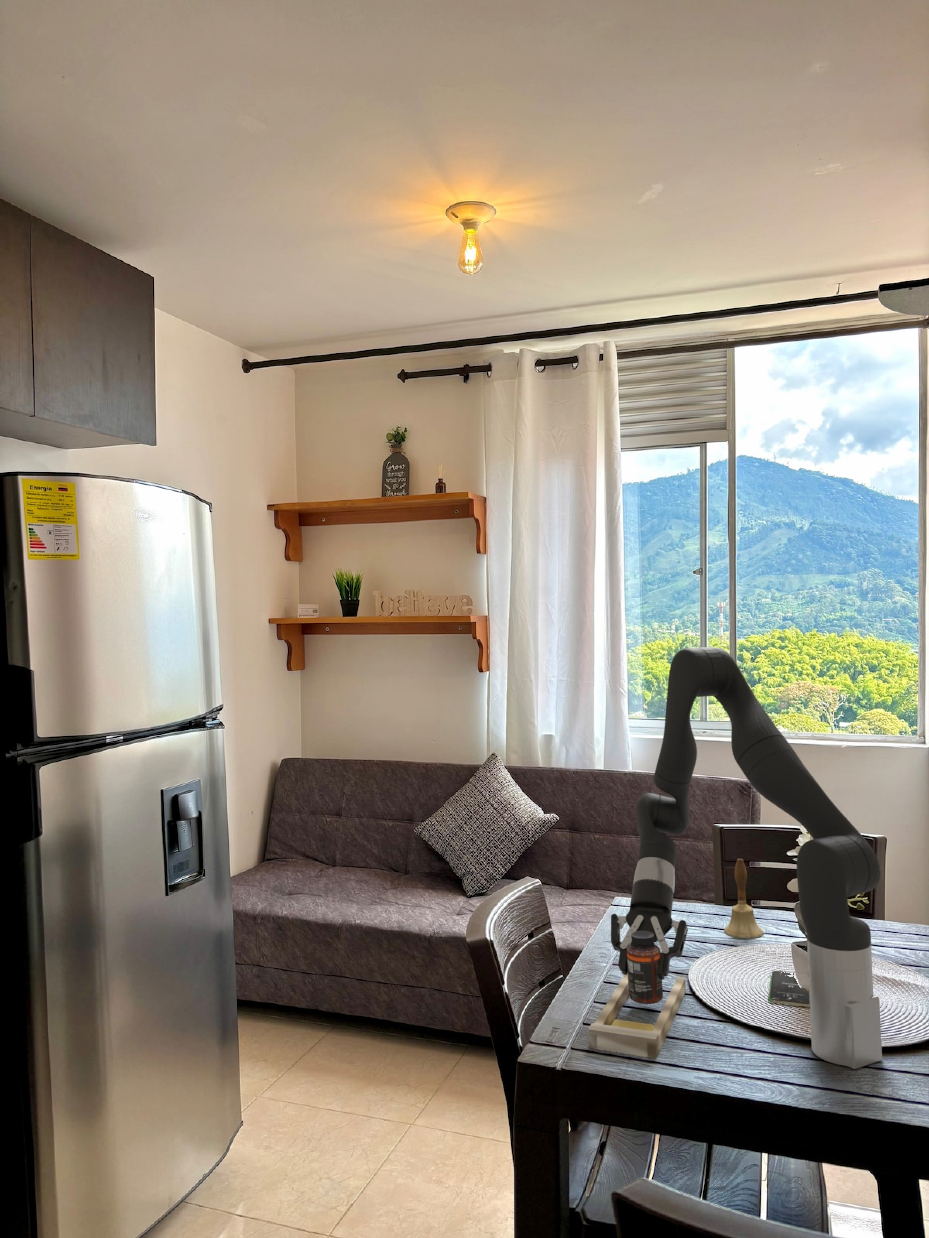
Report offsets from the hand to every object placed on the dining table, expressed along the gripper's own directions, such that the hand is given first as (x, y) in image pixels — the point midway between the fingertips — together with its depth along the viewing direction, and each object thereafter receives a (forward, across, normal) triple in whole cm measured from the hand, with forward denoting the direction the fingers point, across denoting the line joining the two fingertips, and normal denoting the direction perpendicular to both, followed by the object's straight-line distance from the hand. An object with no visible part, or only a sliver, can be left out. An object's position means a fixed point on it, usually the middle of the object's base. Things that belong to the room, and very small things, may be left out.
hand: (642, 974), depth 153 cm
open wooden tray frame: (+6, 0, +3) cm, 7 cm away
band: (+10, 0, -1) cm, 10 cm away
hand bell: (-29, +12, +39) cm, 50 cm away
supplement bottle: (+2, 0, +5) cm, 5 cm away
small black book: (-8, +23, +18) cm, 31 cm away
